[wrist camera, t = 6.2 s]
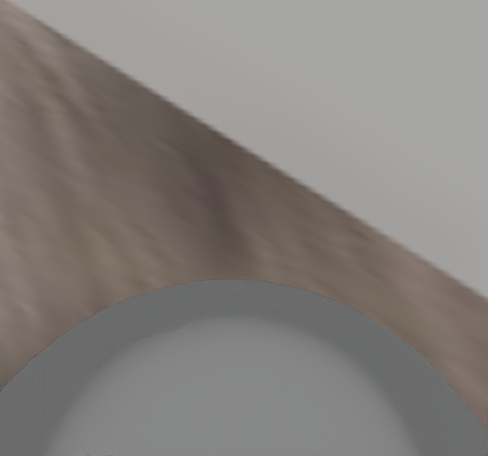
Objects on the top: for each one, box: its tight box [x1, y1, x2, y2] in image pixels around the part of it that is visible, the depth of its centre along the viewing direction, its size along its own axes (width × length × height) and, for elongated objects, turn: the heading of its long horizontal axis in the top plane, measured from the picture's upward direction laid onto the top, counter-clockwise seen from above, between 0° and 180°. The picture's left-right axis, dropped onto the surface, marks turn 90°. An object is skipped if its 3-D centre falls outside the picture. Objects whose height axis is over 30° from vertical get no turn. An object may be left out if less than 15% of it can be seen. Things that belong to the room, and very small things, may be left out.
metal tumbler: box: [0, 279, 488, 456], centre depth 9 cm, size 4×4×12 cm
